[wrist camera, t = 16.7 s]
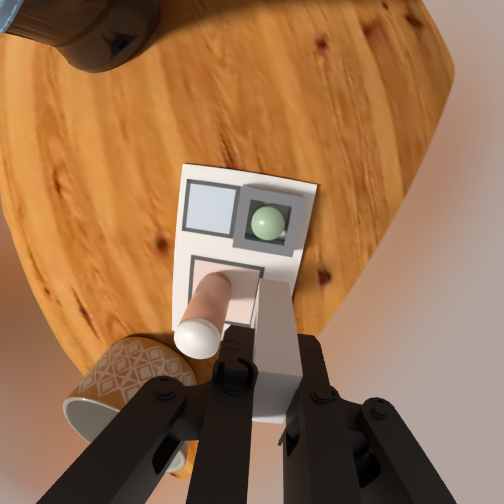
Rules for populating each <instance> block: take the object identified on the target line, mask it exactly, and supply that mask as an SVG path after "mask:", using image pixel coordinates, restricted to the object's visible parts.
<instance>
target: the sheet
mask: <svg viewBox="0 0 504 504" xmlns="http://www.w3.org/2000/svg"><path fill="white" fill-rule="evenodd" d="M242 185H249V186H255V187H261V188H267V189H273V190H279V191H284V192H289V193H295V194H300V195H303V196H304V197H305V201H304V206H303V211H302V216H301V221H300V225H299V230H298V235H297V239H296V244H295V248H294V253H293V257H287V256H281V255H275V254H269V253H263V252H257V251H251V250H245V249H239V248H233V247H232V246H233V239H234V232H235V225H236V219H237V212H238V206H239V199H240V193H241V187H242ZM316 188H317V185H316V184H311V183H306V182H301V181H296V180H291V179H285V178H280V177H274V176H269V175H263V174H257V173H251V172H244V171H238V170H231V169H224V168H216V167H209V166H201V165H192V164H183V168H182V176H181V185H180V194H179V204H178V215H177V226H176V239H175V255H174V273H173V301H172V331H176V329H177V327H178V325H179V323H180V321H181V319H182V317H183V315H184V313H185V310H186V308H187V306H188V304H189V302H190V300H191V298H192V296H193V294H194V292H195V290H196V288H197V286H198V284H199V282H200V281H201V280H202V279H203V278H204V276H205V275H207V274H208V273H211V272H219V273H222V274H224V275H225V276H226V277H227V278H228V279H229V280H230V282H231V291H232V293H231V298H230V302H229V307H228V311H227V315H226V319H225V323H224V327H223V331H222V336H221V341H223V336H224V332H225V330H226V329H227V328H228V327H229V326H230V325H236V326H242V327H248V328H251V321H252V316H253V311H254V306H255V301H256V296H257V290H258V285H259V280H260V278H262V279H268V280H274V281H280V282H287V283H289V286H290V292H291V298H292V294H293V290H294V286H295V282H296V278H297V274H298V269H299V265H300V261H301V257H302V253H303V248H304V244H305V240H306V235H307V231H308V226H309V222H310V217H311V212H312V207H313V203H314V198H315V193H316ZM265 204H271V205H274V206H276V207H277V208H279V209H280V211H281V212H282V215H283V218H284V223H285V225H284V230H283V232H282V233H281V235H280V236H278V237H277V238H276V239H282V240H283V238H284V233H285V228H286V223H287V218H288V213H289V208H290V206H286V205H281V204H275V203H270V202H264V201H258V200H252V199H251V204H250V210H249V216H248V222H247V228H246V233H247V234H253V235H255V233H254V232H253V230H252V226H251V222H252V217H253V214H254V212H255V210H256V209H257V208H258V207H260V206H262V205H265Z"/></svg>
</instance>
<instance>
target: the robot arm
mask: <svg viewBox="0 0 504 504" xmlns="http://www.w3.org/2000/svg"><path fill="white" fill-rule="evenodd" d="M159 15H160V6H159V2H158V0H0V33H7V34H11V35H15V36H19V37H23V38H27V39H30V40H34V41H37V42H41V43H44V44H47V45H51V46H53V47H56V48H57V50H58V51H59V52H60V53H61V54H62V55H63V56H64V57H65V58H66V60H67V61H68V63H69V64H70V65H72V66H73V67H75V68H77V69H80V70H82V71H85V72H90V73H98V72H103V71H107V70H110V69H112V68H115V67H117V66H119V65H120V64H122V63H124V62H125V61H127V60H128V59H129V58H131V57H132V56H133V55H134V54H135V53H136V52H138V51H139V50H140V49H141V48H142V46H143V45H144V44H145V43H146V42H147V40H148V39H149V38H150V36H151V35H152V33H153V31H154V29H155V28H156V25H157V23H158V19H159ZM285 417H286V428H285V430H284V432H283V434H282V436H281V438H280V440H279V443H278V445H279V446H281V444H282V442H283V480H284V481H283V483H284V484H283V486H284V504H457V503H456V501H455V500H454V498H453V497H452V495H451V493H450V492H449V490H448V489H447V487H446V485H445V484H444V482H443V481H442V479H441V478H440V476H439V474H438V473H437V471H436V470H435V468H434V466H433V465H432V463H431V462H430V460H429V459H428V457H427V456H426V454H425V453H424V451H423V450H422V448H421V447H420V445H419V443H418V442H417V441H416V439H415V437H414V436H413V434H412V433H411V431H410V430H409V429H408V427H407V426H406V424H405V422H404V421H403V420H402V418H401V417H400V415H399V414H398V412H397V411H396V409H395V408H394V406H393V405H392V404H390V402H388V401H386V400H385V399H382V398H378V397H375V398H369V399H367V400H366V401H365V402H364V403H363V405H361V404H357V403H353V402H350V401H347V400H344V399H342V398H340V395H339V393H338V391H337V390H336V389H335V388H334V387H332V386H330V383H329V378H328V374H327V370H326V366H325V362H324V357H323V354H322V349H321V345H320V343H319V342H318V340H317V339H316V338H315V336H313V335H304V334H297V331H296V324H295V317H294V311H293V304H292V298H291V292H290V286H289V283H287V282H280V281H274V280H268V279H262V278H260V280H259V285H258V290H257V296H256V301H255V306H254V311H253V316H252V321H251V328H248V327H242V326H236V325H230V326H229V327H228V328H227V329H226V330H225V332H224V336H223V341H222V345H221V349H220V354H219V358H218V360H216V362H215V364H214V365H213V374H212V379H211V380H210V381H208V382H207V383H204V384H201V385H195V386H184V385H183V384H182V382H181V381H179V380H177V379H176V378H174V377H170V376H156V377H153V378H151V379H149V380H148V381H147V382H145V384H144V385H143V386H142V387H141V388H140V389H139V390H138V391H137V393H136V394H135V395H134V396H133V397H132V398H131V399H130V400H129V402H128V403H127V404H126V405H125V406H124V407H123V408H122V409H121V410H120V412H119V413H118V414H117V415H116V416H115V417H114V418H113V419H112V420H111V422H110V423H109V424H108V425H107V426H106V427H105V428H104V429H103V430H102V432H101V433H100V434H99V435H98V436H97V437H96V438H95V439H94V440H93V442H92V443H91V444H90V445H89V446H88V447H87V448H86V449H85V450H84V451H83V453H82V454H81V455H80V456H79V457H78V458H77V459H76V460H75V461H74V462H73V464H72V465H71V466H70V467H69V468H68V469H67V470H66V471H65V472H64V473H63V475H62V476H61V477H60V478H59V479H58V480H57V481H56V482H55V484H53V485H52V487H51V488H50V489H49V490H48V491H47V492H46V493H45V495H43V496H42V497H41V499H40V500H39V501H38V502H37V503H36V504H145V502H146V501H147V499H148V498H149V496H150V495H151V494H152V492H153V490H154V489H155V487H156V486H157V484H158V483H159V481H160V480H161V478H162V477H163V475H164V474H165V472H166V471H167V469H168V467H169V466H170V464H171V463H172V461H173V460H174V458H175V456H176V455H177V453H178V452H179V450H180V448H181V447H182V445H183V444H184V442H185V441H190V440H199V443H198V447H197V452H196V457H195V461H194V466H193V471H192V476H191V480H190V485H189V490H188V495H187V500H186V504H247V491H248V490H247V489H248V477H249V461H250V446H251V431H252V421H258V422H267V423H280V424H283V421H284V419H285Z"/></svg>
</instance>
